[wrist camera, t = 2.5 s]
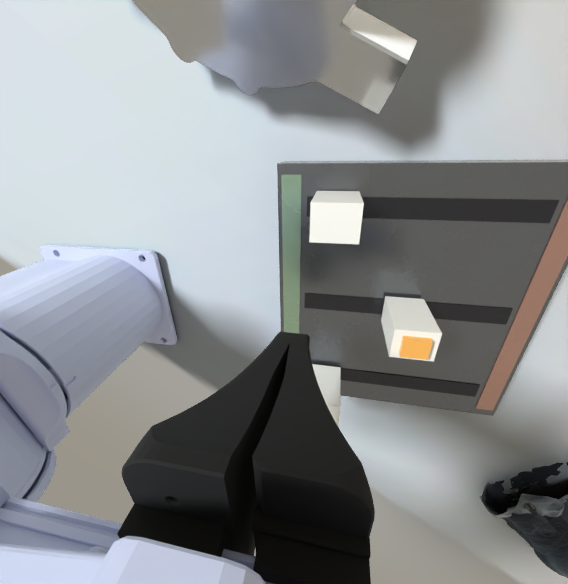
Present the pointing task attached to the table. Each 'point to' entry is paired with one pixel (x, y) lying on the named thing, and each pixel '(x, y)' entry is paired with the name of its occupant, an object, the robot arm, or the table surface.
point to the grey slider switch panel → (425, 271)
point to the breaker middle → (410, 329)
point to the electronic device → (534, 516)
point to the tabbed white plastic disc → (287, 44)
